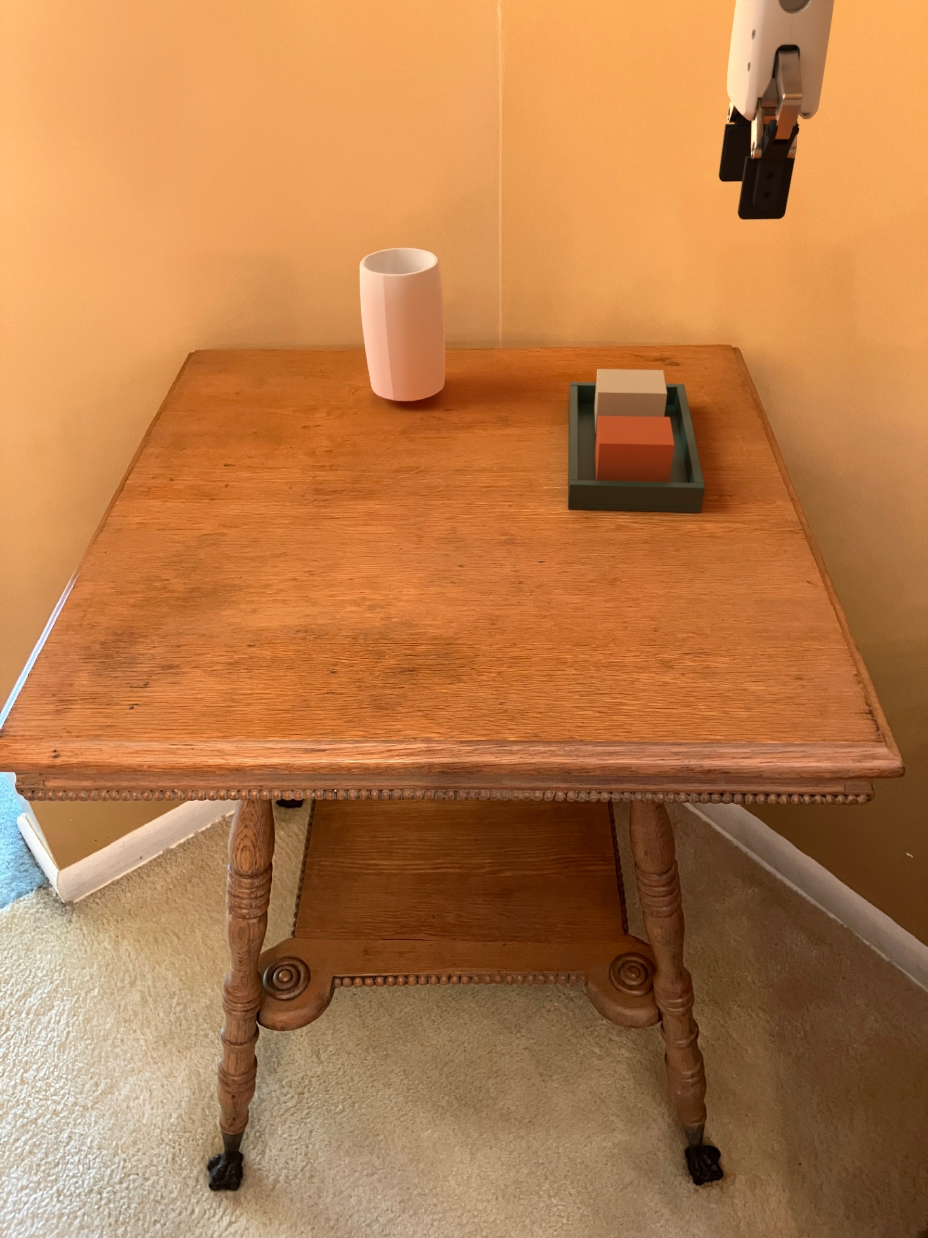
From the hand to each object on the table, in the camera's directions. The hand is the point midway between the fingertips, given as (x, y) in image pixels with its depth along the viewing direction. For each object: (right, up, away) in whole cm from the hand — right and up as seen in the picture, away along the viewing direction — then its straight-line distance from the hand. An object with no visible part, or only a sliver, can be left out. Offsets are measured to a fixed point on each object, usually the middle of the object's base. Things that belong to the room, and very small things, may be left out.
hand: (749, 198), depth 69 cm
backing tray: (-5, -16, +20) cm, 26 cm away
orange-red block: (-6, -18, +16) cm, 25 cm away
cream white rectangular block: (-5, -12, +23) cm, 26 cm away
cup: (-27, -7, +30) cm, 41 cm away
